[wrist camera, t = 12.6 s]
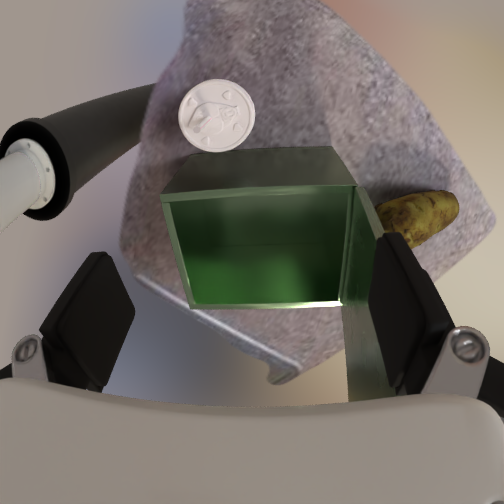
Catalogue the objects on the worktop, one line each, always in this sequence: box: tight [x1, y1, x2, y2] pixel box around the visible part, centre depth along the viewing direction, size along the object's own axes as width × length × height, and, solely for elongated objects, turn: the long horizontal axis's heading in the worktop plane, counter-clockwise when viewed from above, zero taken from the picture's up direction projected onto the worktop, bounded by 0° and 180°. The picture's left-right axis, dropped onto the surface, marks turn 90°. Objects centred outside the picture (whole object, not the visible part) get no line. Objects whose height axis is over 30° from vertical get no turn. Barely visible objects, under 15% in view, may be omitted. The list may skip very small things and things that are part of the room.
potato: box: [374, 190, 459, 249], centre depth 33 cm, size 8×13×8 cm, turn 84°
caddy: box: [160, 146, 358, 309], centre depth 33 cm, size 17×14×12 cm
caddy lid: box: [341, 187, 407, 402], centre depth 19 cm, size 18×14×5 cm
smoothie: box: [178, 79, 255, 152], centre depth 25 cm, size 6×6×14 cm
